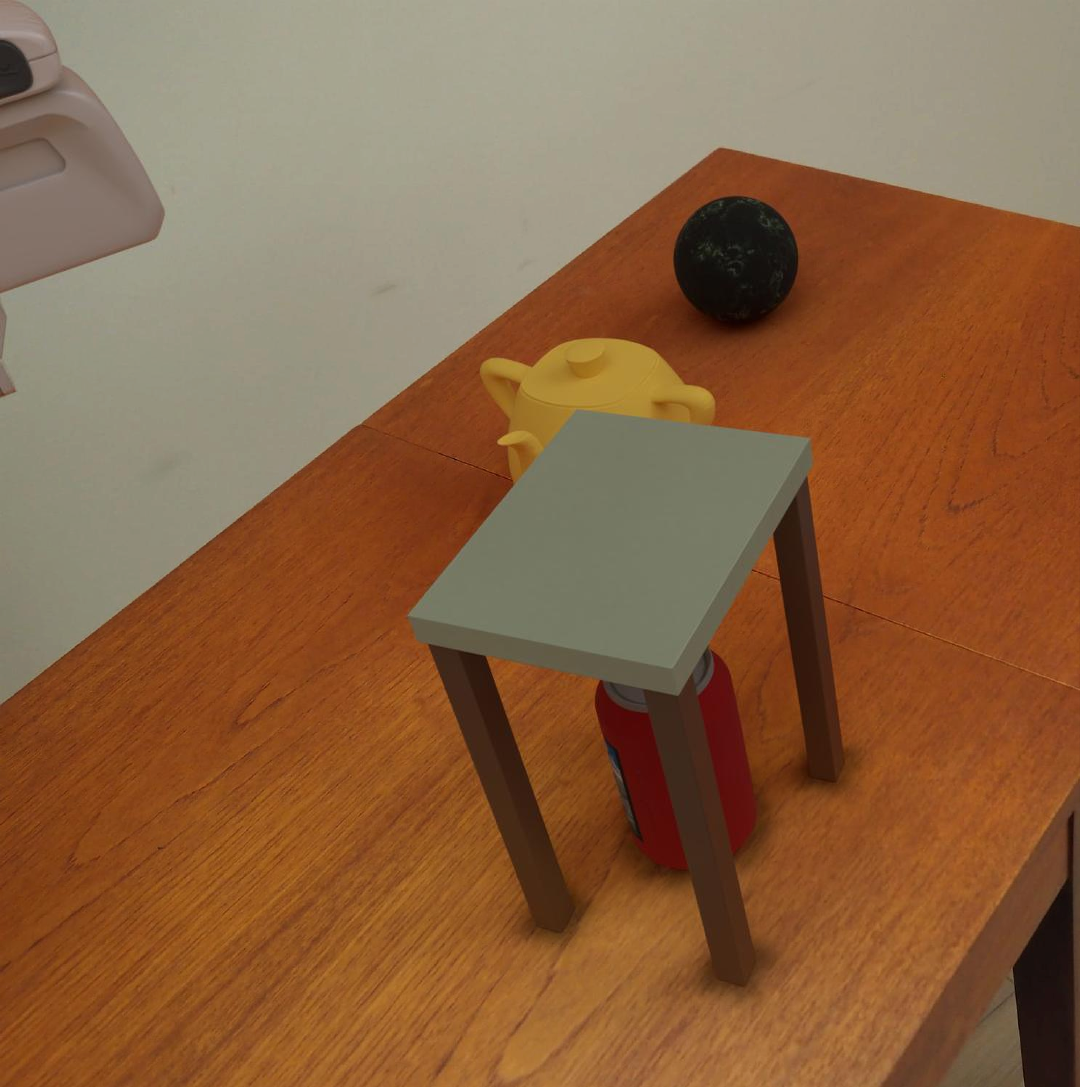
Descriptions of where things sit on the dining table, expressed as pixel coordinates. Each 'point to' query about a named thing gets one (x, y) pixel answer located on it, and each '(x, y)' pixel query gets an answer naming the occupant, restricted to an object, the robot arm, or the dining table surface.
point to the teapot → (587, 392)
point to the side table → (633, 622)
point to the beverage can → (643, 768)
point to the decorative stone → (736, 259)
